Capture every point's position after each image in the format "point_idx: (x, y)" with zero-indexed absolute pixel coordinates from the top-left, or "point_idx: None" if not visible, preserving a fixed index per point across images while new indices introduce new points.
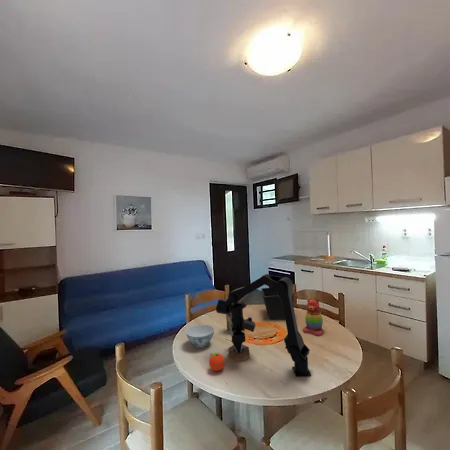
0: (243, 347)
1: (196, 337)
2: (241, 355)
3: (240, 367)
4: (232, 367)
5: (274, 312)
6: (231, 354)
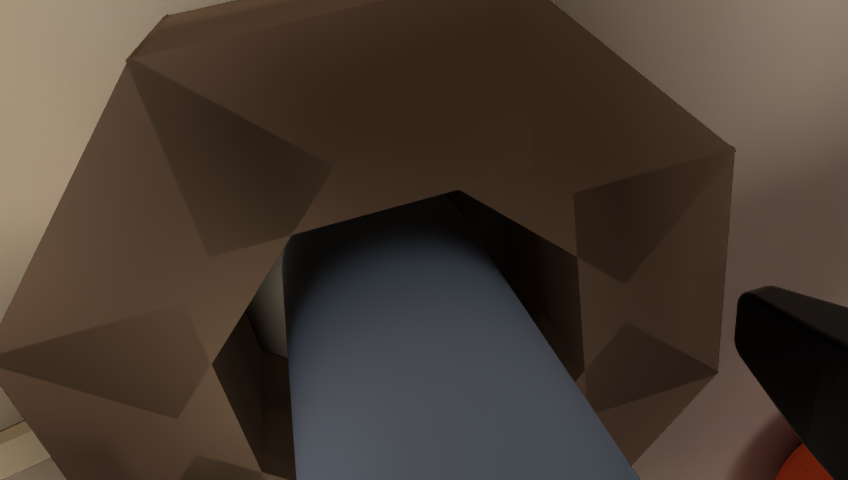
0: (229, 266)
1: None
2: (722, 207)
3: (840, 124)
4: (806, 272)
5: None
6: (627, 445)
